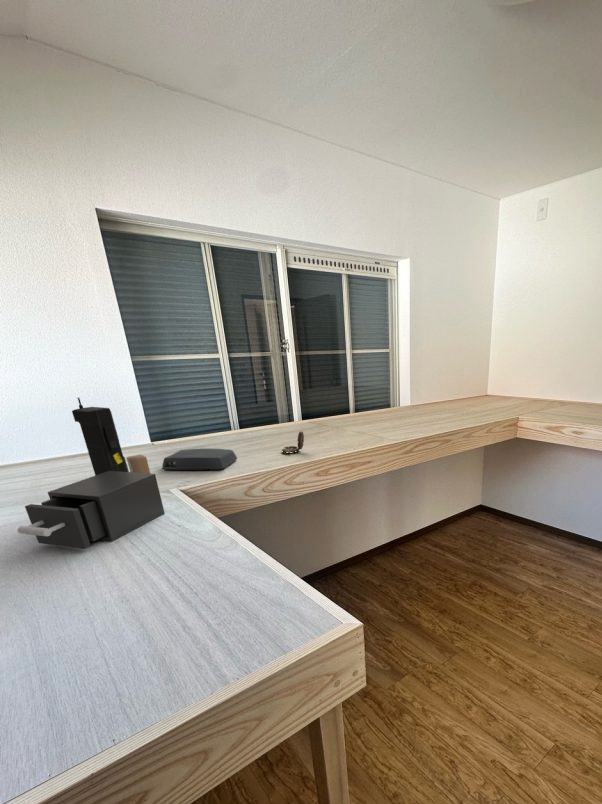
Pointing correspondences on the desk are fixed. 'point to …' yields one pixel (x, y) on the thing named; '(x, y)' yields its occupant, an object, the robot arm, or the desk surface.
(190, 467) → the hard drive
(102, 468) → the portable radio
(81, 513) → the fryer drawer
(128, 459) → the wooden block
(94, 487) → the air fryer
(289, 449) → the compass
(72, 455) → the desk surface
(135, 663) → the desk surface
